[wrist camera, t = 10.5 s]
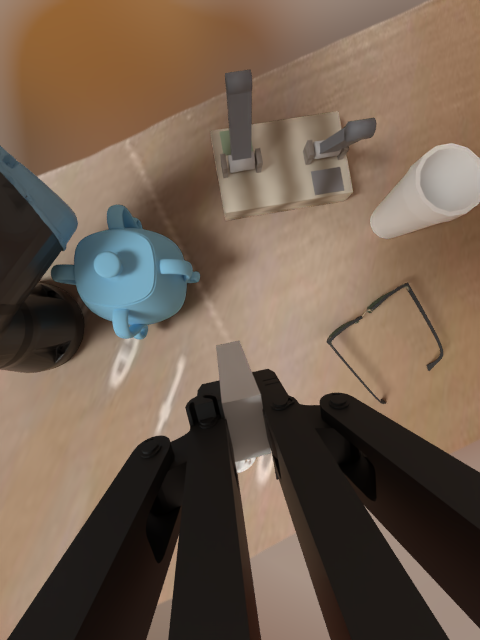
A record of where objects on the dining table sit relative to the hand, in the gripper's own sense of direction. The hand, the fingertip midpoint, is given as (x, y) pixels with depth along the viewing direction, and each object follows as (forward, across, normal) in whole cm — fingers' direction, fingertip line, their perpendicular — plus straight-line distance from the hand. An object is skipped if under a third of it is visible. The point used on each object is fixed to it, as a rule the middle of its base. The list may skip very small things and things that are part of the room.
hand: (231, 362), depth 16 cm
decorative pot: (+31, -12, +5) cm, 33 cm away
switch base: (+33, +16, +20) cm, 41 cm away
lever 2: (+29, +22, +21) cm, 42 cm away
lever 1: (+30, +8, +20) cm, 37 cm away
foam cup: (+29, +33, +8) cm, 45 cm away
